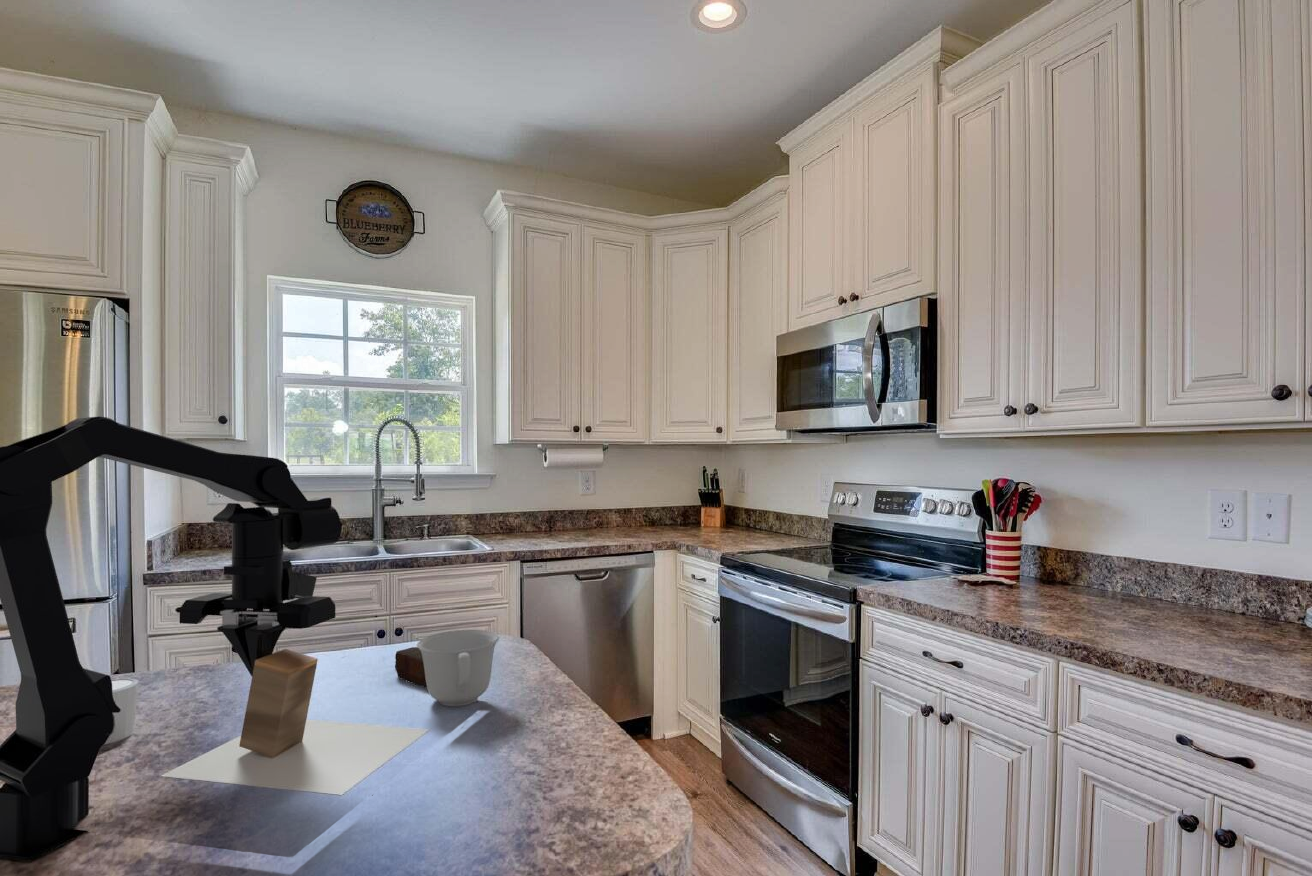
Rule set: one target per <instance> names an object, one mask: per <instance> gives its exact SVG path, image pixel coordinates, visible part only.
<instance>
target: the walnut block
mask: <svg viewBox="0 0 1312 876" xmlns="http://www.w3.org/2000/svg"><path fill="white" fill-rule="evenodd" d="M318 661H319V658H316V657H315V656H310V655H306V654H303V653H301V652H297V651H294V650H290V649H287V648H284V649H281V650H278V651H276V652H273V653H272V654H270V655H268V656H265V657H262V658H260V659H257V660H255V665H254V670H253V675H252V676H251V680H250V681H251V682H250V686H249V687H250V688H249V692H248V698H247V703H246V708H245V713H244V719H243V724H242V730H241V734H240V736H241V740H240V745H239V746H240V747H243V748H245V749H248V750H251V751H254V752H257V753H260V754H263V755H266V756H268V757H271V758H274V757H276V756H277V755H279V754H281V753H283V752H284V751H286V750H288V749H290V748H291V747H293V746H295V745H297V744H298V743H300V742H302V740H303V735H304V730H305V724H306V720H308V714H309V707H310V702H311V698H312V691H313V687H314V680H315V675H316V671H317V665H318V664H317V663H318Z"/></svg>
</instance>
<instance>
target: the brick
mask: <svg viewBox="0 0 1312 876" xmlns="http://www.w3.org/2000/svg"><path fill="white" fill-rule="evenodd" d="M394 659H395V661H394V662H395V665H394V669H395V671H396V673H397V674H396V675H397V678H398V677H400V678H399V679H401V678H402V679H401V680H404V681H406V680H407V681H406V682H408V681H409V682H408V683H411V682H412V683H411V684H414V685H417V686H418V687H422V686H423V687H422V688H425V689H427V684H426V678H425V670H424V662H423V657H422V653H421V650H420V649H419V648H418V647H417V646H415V647H414V646H413V647H408V648H405V649H401V650H397V651H396V652H395V658H394Z"/></svg>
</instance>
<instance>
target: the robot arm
mask: <svg viewBox="0 0 1312 876" xmlns="http://www.w3.org/2000/svg"><path fill="white" fill-rule="evenodd" d="M97 458H102V459H107V460H110V461H114V462H118V463H122V464H126V465H131V466H134V467H139V468H143V469H148V470H150V471H155V472H158V473H162V474H163V473H164V474H166V475H170V476H171V475H172V476H175V477H178V478H183V479H186V480H191V481H195V482H196V483H200V484H202V485H204V486H205V487H207V488H208V489H210V490H211V491H213V492H215V493H217V494H219V495H222V496H223V497H226V498H228V499H231V500H233V501H235V503H234V502H229V503H227V504H226V505H225V507H224V508H223V509H222V510H221V511H220V512H218V513H217V514H216V515H214V516H213V518H212V521H213V522H214V523H221V524H231V564H229V565H225V566H223V575H225V576H227V575H229V576H231V593H227V592H213V593H210V594H205V595H201V596H197V597H193V598H189V599H185V601H184V602H183V603H182V605H181V606H180V608H179V624H187V625H191V624H192V625H198V624H201V623H202V622H203V621H204V620H205V618H206V617H208V616H217V617H220V616H221V617H222V618H221V621H222V622H221V623H222V624H221V625H219V626H217V628H216V629H217V632H220V633H222V634H223V635H224V636H225V638H226V639H227V641H228V642H229V643H230V645H231V646H232V648H233V649H234V650H235V652H236V654H238V656H239V658H240V659H241V661H242V662H243V663H242V664H244V666H245V668H246V669H247V672H248V673H249V675H250V676H251V677H252V675H253V670H254V665H255V660H257V659H260V658H262V657H265V656H268V655H270V654H273V653H274V650H275V647H276V645H277V643H278V641H279V638H280V637H281V635H282V634H283V632H284V631H286V629H296V630H297V629H298V630H299V629H300V630H301V629H308V628H312V627H314V626H316V625H318V624H322V623H324V622H327V621H330V620H333V619H336V603H335V601H334V600H333V599H332V598H331V596H315V595H314V592H315V586H316V584H317V579H318V578H317V576H314V575H309V574H305V573H302V572H296V571H293V564H292V562H291V559H284V547H285V548H287V549H288V550H290V551H296V550H303V549H311V548H318V547H323V546H324V547H325V546H331V545H335V544H336V543H337V542H338V540H339V539H340V537H341V534H342V530H343V522H342V520H341V518H340V515H339V512H338V511H337V510H336V508H335V507H334V506H332V498H331V497H326V496H325V497H314V498H313V497H312V498H311V499H307V497H306V496H305V495H304V493H303V492H302V491H301V489H300V488H299V487H298V485H297V484H296V483H295V482H294V480H293V479H292V477H291V471H290V469H289V468H288V467H289V466H288V464H287V463H286V462H284V461H283V460H281V459H279V458H276V457H268V456H260V455H250V454H238V453H229V452H228V453H227V452H219V451H216V450H212V449H209V448H205V447H202V446H198V445H195V444H191V443H188V442H185V441H181V440H177V439H174V438H171V437H168V436H164V435H162V434H161V435H160V434H157V433H153V432H151V431H146V430H143V429H141V428H140V429H139V428H135V427H134V426H129V425H126V424H123V423H120V422H117V421H115V420H113V419H112V418H109V417H108V416H107V417H106V416H87V417H81V418H80V417H79V418H75V419H73V420H71V421H70V422H68V423H65V424H63V425H61V426H58V427H57V428H56V427H55V428H54V429H51V430H49V431H48V430H47V431H46V432H42V433H39V434H36V435H33V436H30V437H28V438H24V439H21V440H19V441H15V442H13V443H11V444H10V443H9V444H8V445H6V446H0V603H1V607H2V610H3V614H4V618H5V622H6V625H7V629H8V632H9V635H10V639H11V643H12V646H13V651H14V653H15V657H16V660H17V665H18V668H19V672H20V684H19V688H18V691H17V692H18V693H17V696H16V701H15V730H14V731H13V732H12V733H11V734H10V735H9V736H8V737H7V738H6V739H5V740H4V741H3V742H2V743H1V744H0V781H2V782H3V784H2V785H1V787H0V859H5V860H11V861H19V862H32V861H34V860H37V859H39V858H40V857H43V856H44V855H46V854H48V853H50V852H51V851H54V850H55V849H58V848H59V847H61V846H63V845H65V844H68V843H69V842H71V841H72V840H75V839H77V838H78V837H80V836H82V835H83V834H86V833H88V832H89V830H85V829H76V826H77V825H78V823H79V821H81V820H83V819H85V818H86V817H87V816H88V815H89V813H90V811H89V810H90V809H89V808H90V806H89V805H90V778H89V776H90V775H91V772H92V770H93V768H94V764H95V762H96V759H97V757H98V755H99V753H100V752H99V751H100V749H101V748H102V747H103V746H104V745H106V744H105V742H106V741H107V739H108V738H109V736H110V735H111V734H112V733H113V731H114V727H115V720H114V715H113V713H119V712H120V711H121V709H120V708H119V707H118V706H117V705H116V704H115V702H114V699H113V694H112V681H111V680H112V677H111V675H109V674H104V673H102V672H99V671H95V670H91V669H88V668H85V667H83V666H82V664H81V661H80V660H79V655H78V651H77V648H76V644H75V641H74V635H73V632H72V628H71V625H70V620H69V616H68V613H67V610H66V605H65V602H64V597H63V594H62V590H61V586H60V582H59V579H58V574H57V570H56V567H55V563H54V559H53V555H52V551H51V548H50V544H49V543H50V542H49V541H48V537H47V528H48V524H49V519H50V515H51V511H52V507H53V482H54V481H56V480H58V479H60V478H63V477H66V476H68V475H70V474H71V473H74V472H75V471H77V470H78V469H81V468H82V467H84V466H85V465H86V464H88V463H90V462H92V461H93V460H95V459H97ZM236 502H238V503H236ZM239 502H243V503H250V504H253V505H254V506H256V507H244V506H242V505H241V504H240V503H239ZM268 508H270V509H277V512H273V513H272V511H270V509H268ZM285 601H286V602H285Z"/></svg>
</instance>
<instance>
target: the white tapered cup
mask: <svg viewBox="0 0 1312 876" xmlns="http://www.w3.org/2000/svg"><path fill="white" fill-rule="evenodd" d="M111 681H112V694H113V699H114V702H115V704H116V705H117V706H118V707H119V708H120V709H121V711H120V712H119V713H113V715H114V720H115V727H114V731H113V733H112V734H111V735H110V736H109V738H108V739H107V741H106V742H105V744H104V745H108V744H113V743H117V742H119V741H122V740H124V739H127V738H128V737H130V736H132V735H133V733H134V731H135V730H134V728H135V721H136V712H137V703H138V694H139V687H140V686H139V685H140V681H139V679H136V678H116V679H111Z"/></svg>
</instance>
